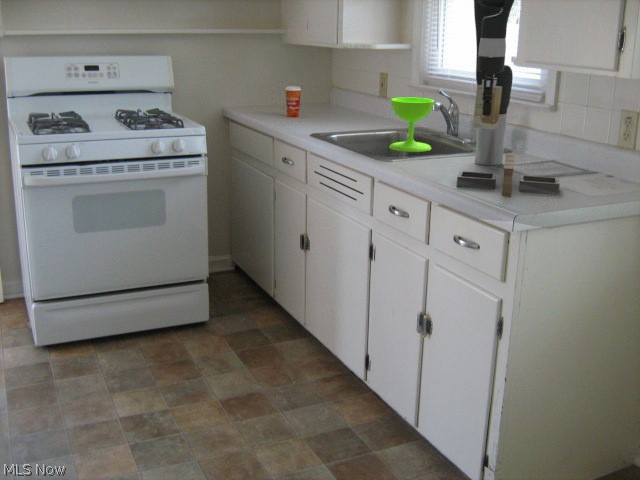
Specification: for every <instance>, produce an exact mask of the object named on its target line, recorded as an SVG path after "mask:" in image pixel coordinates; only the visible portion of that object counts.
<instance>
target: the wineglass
mask: <svg viewBox="0 0 640 480" xmlns="http://www.w3.org/2000/svg"><path fill="white" fill-rule="evenodd" d="M390 103H391V107H392V110H393V112H394V113H395V114H396V116H397V117H399V118H400V119H401V120H404V121H406V122H408V134H407V135H408V136H407V139H406V140H405V141H397V142H393V143H391V144H390V145H389V147H388V148H389V149H390V150H394V151H398V152H404V153H406V152H407V153H421V152H427V151H429V152H430V151H431V150H432V146H431V145H430V144H428V143H424V142H420V141H415V139H414V133H415V132H414V131H415V130H414V129H415V123H416V122H419V121H422V120H423V119H425V118H427V116H428V115H429V114H430V113H431V112H432V110H433V107H434V104H435V100H434V99H432V98H431V99H430V98H424V97H393V98H391V100H390Z"/></svg>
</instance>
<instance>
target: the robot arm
mask: <svg viewBox="0 0 640 480" xmlns="http://www.w3.org/2000/svg"><path fill="white" fill-rule="evenodd" d="M514 2H515V0H473V11H474V13H473V14H474V26H475V39H476V42H475V43H476V57H475V58H476V60H475V61H476V63H475V66H476V67H475V79H476V84H477V85H476V87H477V86H479V85H483V88H482V94H483V98H482V99H483V113H482V114H483V115H484V116H489V115H490V112H491V103H492V95H493V94H494V89H493V90H492V88H495V86H501V87H502V93H501V102H500V111H499V120H498V128H496V129H492V130H490V129H483V128H477V131H476V132H477V133H476V143H475V145H476V147H475V154H474V155H475V156H474V157H475V158H474V163H476V164H477V165H482V166H483V165H484V166H500V165H502V164H503V158H504V147H505V137H506V128H507V127H506V126H507V125H506V124H507V115H508V108H509V104H510V101H511V100H510V99H511V94H512V88H513V87H512V86H513V76H514V75H513V74H514V73H513V69H512V68H511V66H509V64H508V65H507V64H505V62H506V60H505V59H506V52H507V51H506V49H507V41H506V40H507V39H506V38H507V29H508V22H509V16H510V14H511V11H512V7H513V6H514ZM485 95H490V97H486V96H485Z"/></svg>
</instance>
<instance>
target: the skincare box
mask: <svg viewBox="0 0 640 480" xmlns="http://www.w3.org/2000/svg"><path fill="white" fill-rule="evenodd" d="M482 88H483V85H479V86H477V85H476V93H475V101H474V102H475V103H474V111H473V112H474V113H473V122H472V127H473V128H477V129H478V128H483V129H490V130H492V129H496V128H498V120H499V111H500V102H501V93H502V87H501V86H495V88H492V90H493V89H494V94H493V95H492V103H491V112H490V115H489V116H484V115H483V114H482V113H483V99H482V98H483V94H482ZM485 96H486V97H490V95H485Z"/></svg>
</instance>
